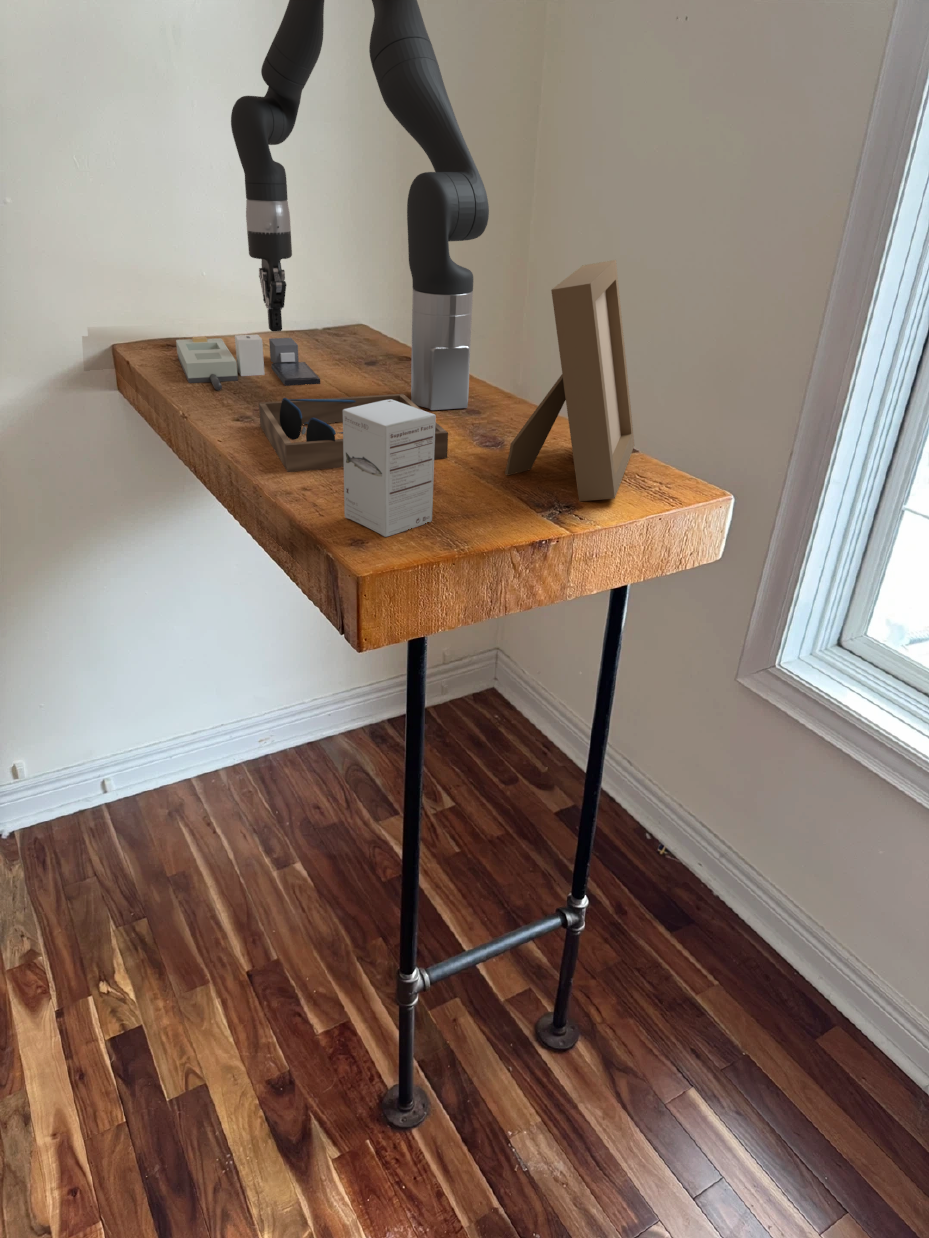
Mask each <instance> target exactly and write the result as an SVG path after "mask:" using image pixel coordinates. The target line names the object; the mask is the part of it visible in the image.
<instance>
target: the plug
mask: <svg viewBox="0 0 929 1238" xmlns="http://www.w3.org/2000/svg"><path fill="white" fill-rule="evenodd" d="M268 341H269V357H270V361H271V362H273V363H292V362H300V360H299V345H298V343H297V342H295V340H294V339H293V338H292V337H278V338H277V337H274V338H273V337H272V338H269V339H268Z"/></svg>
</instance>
